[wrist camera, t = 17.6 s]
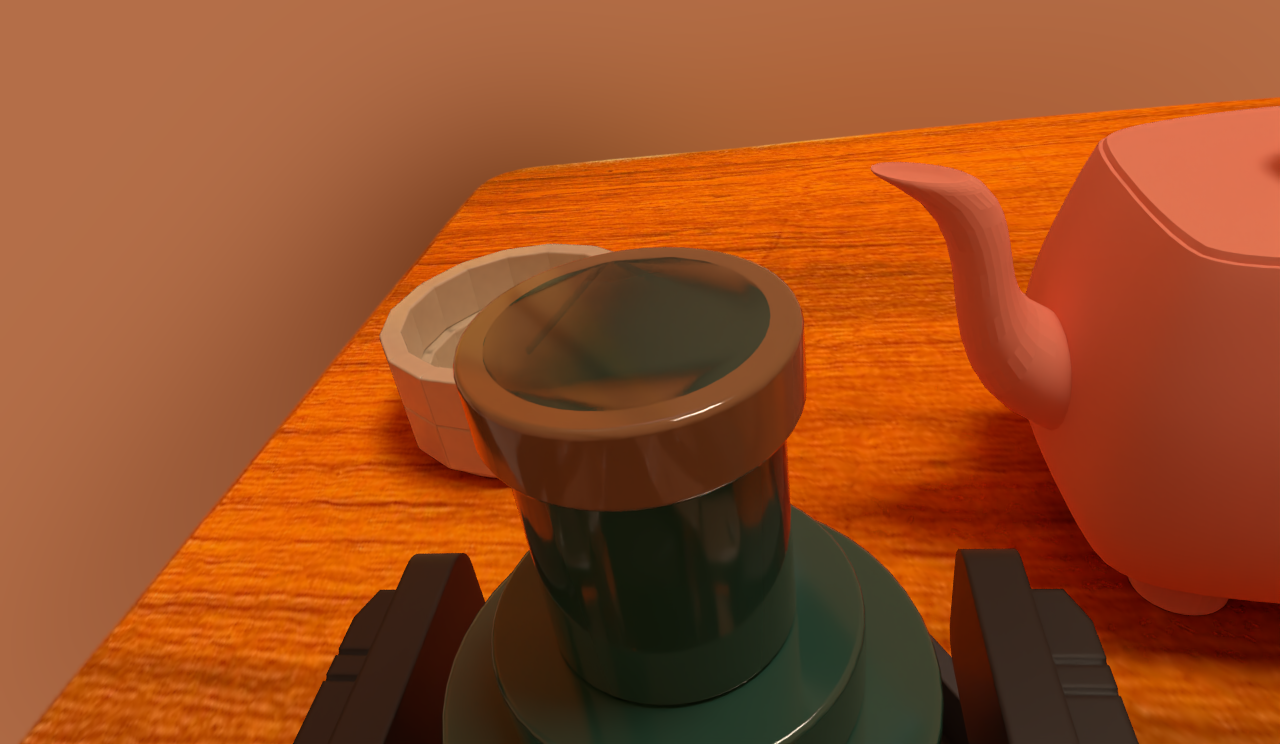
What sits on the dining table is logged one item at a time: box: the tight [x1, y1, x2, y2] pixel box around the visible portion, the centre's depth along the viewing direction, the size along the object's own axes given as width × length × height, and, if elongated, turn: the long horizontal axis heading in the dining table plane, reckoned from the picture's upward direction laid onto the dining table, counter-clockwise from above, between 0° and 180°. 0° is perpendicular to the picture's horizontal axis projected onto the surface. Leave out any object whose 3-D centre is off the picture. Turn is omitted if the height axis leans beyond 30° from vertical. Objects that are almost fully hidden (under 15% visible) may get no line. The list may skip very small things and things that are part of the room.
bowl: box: [380, 244, 613, 478], centre depth 34 cm, size 10×10×4 cm
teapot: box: [871, 106, 1280, 615], centre depth 22 cm, size 20×12×12 cm, turn 84°
